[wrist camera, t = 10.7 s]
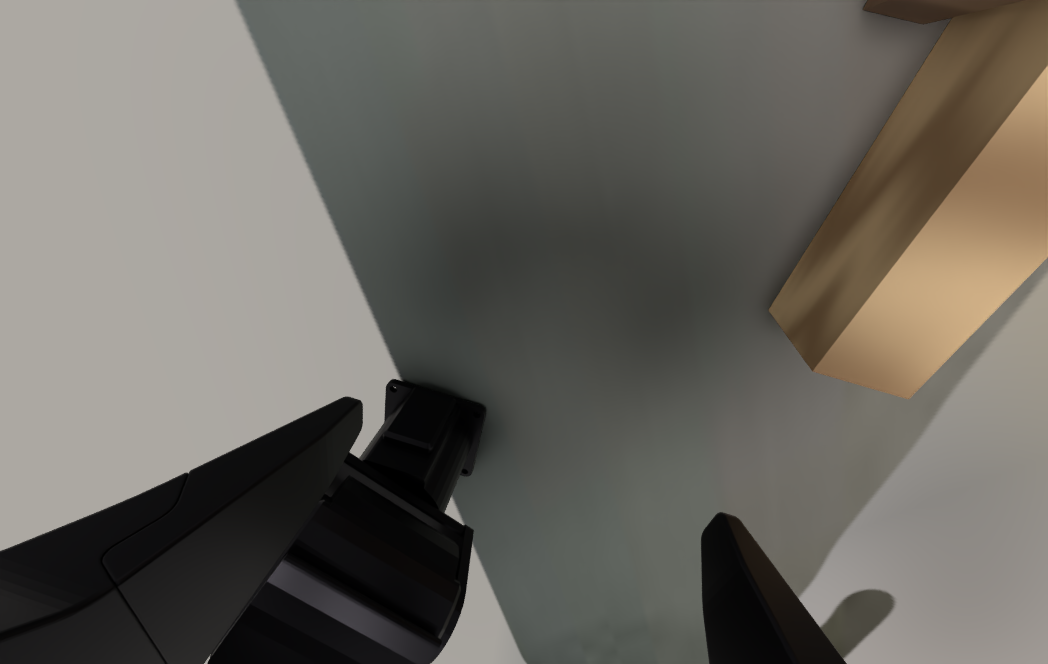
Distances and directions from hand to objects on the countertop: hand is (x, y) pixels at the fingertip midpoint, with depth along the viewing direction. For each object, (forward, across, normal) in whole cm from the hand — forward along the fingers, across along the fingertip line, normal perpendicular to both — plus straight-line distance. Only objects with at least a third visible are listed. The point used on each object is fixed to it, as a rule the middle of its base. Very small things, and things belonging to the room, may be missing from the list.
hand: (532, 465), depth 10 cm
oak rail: (+12, -11, -8) cm, 18 cm away
